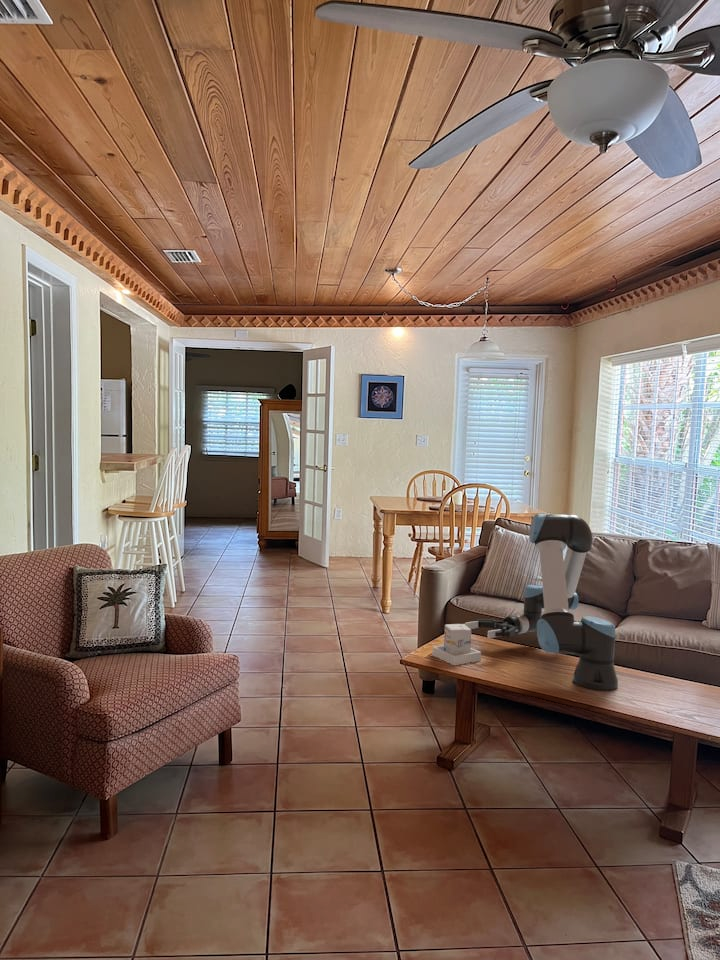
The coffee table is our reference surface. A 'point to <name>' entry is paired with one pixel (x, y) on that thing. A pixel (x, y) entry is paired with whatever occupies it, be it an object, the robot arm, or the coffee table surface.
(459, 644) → the ink box
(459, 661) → the open white box
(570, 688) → the coffee table surface
